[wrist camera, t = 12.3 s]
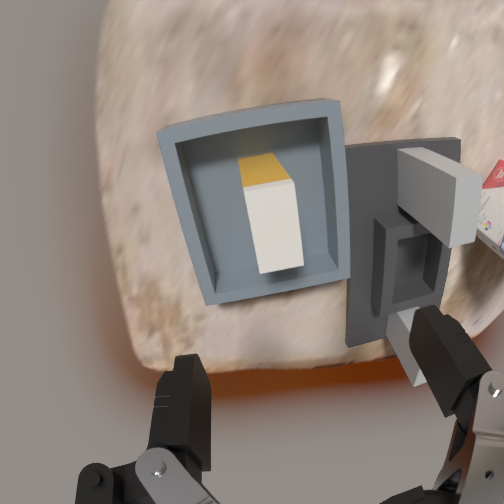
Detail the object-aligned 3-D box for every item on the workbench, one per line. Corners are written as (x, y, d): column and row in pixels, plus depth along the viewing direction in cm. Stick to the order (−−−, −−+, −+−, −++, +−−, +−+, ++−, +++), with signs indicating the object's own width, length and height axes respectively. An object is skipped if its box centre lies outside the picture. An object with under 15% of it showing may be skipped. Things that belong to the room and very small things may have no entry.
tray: (323, 98, 22) (339, 100, 18) (336, 255, 29) (350, 277, 25) (166, 125, 22) (156, 132, 18) (207, 279, 29) (205, 305, 25)
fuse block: (454, 137, 23) (522, 164, 16) (432, 316, 34) (467, 367, 26) (340, 145, 24) (394, 177, 16) (345, 341, 34) (370, 403, 27)
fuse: (272, 152, 23) (294, 182, 16) (281, 212, 25) (304, 265, 18) (237, 158, 23) (243, 192, 16) (249, 219, 25) (260, 273, 18)
